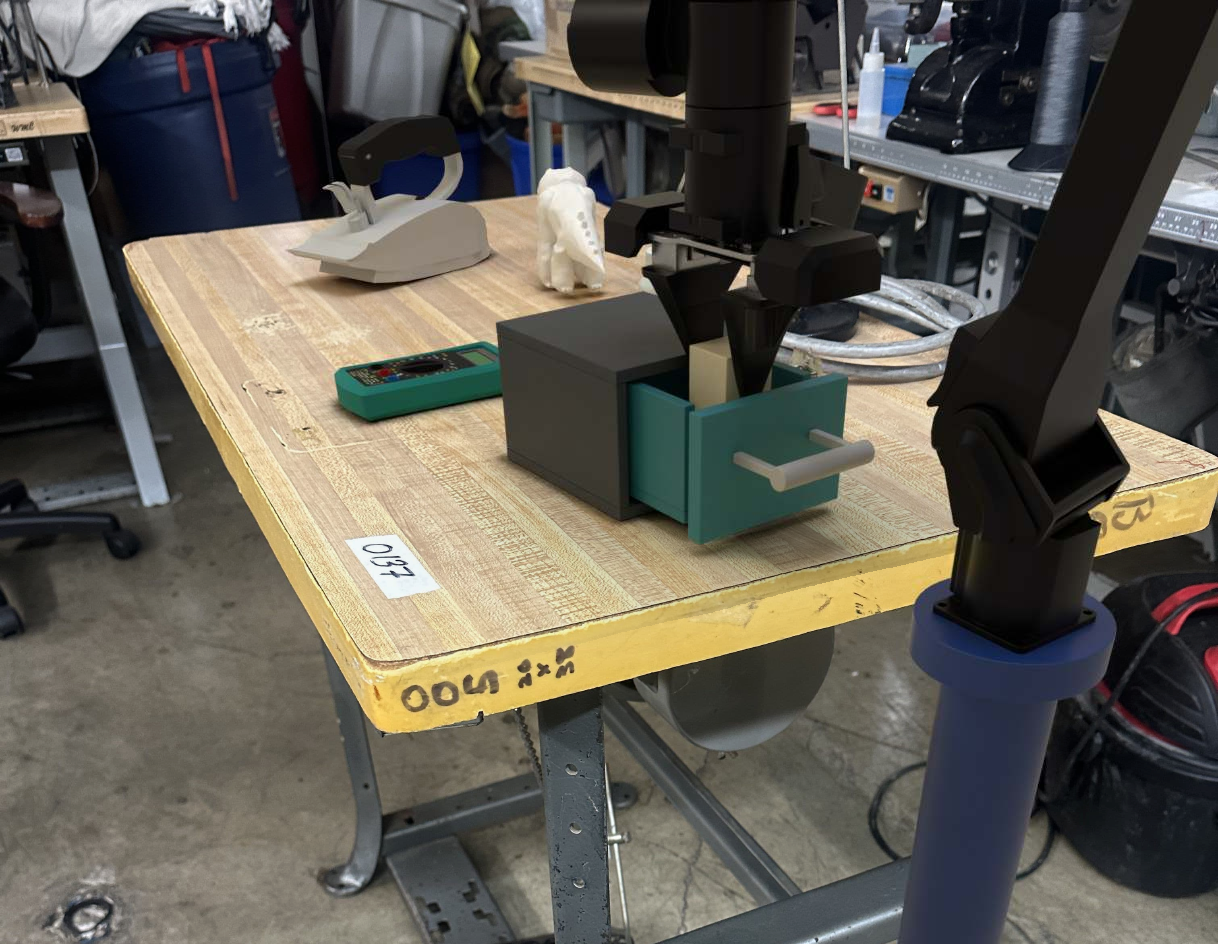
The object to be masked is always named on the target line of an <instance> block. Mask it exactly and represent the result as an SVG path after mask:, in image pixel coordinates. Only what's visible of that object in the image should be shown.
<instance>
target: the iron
mask: <svg viewBox="0 0 1218 944" xmlns="http://www.w3.org/2000/svg"><path fill="white" fill-rule="evenodd" d="M337 150H338V152H337V157H338V158H337V159H338V160H339V164H340V166H341V168H342V171H343V174H344V176H345V179H346V181H347V184H348V185H349V186H350V188H349V186H348V185H346V184H345V183H344V182H342V181H335V182H332V183H331V184H327V185H325V186H323V187H322V189H323V190H329V191H331V192H333V195H334V196H335V197H336V199H337V201H338V202H339V203H340V205H341V207H342V210H343V211H344V213H345V215H343V216H342V217H340V218H339V219H337V220H335V221H333V222H332V223H331V224H329V225H327V226H326V227H324V228H323V229H321V230H320V231H318V232H311V234H310V236H309V237H308V238H307V240H306V241H304V242H303V243H302V244H300V245H298V246H297V247H293V248H289V249H285V251H286V252H287V253H290V254H291V255H293V256H295V257H300V258H304V259H310V260H314V261H320V264H319V269H318V272H319V273H324V274H328V275H333V276H337V277H343V278H348V279H353V280H359V281H363V282H368V283H373V284H378V283H379V284H381V283H382V284H383V283H396V282H398V283H399V282H408V281H413V280H418V279H424V278H427V277H428V278H429V277H433V276H436V275H440V274H444V273H448V272H453V271H457V270H460V269H461V270H462V269H464V268H468V267H472V266H474V265H476V264H478V263H479V262H481V261H484V260H485V259H486V258H488V257H490V254H491V252H492V249H491V246H490V244H489V239H488V228H487V222H486V219H485V217H484V216H483V215H482V213H481V212H480V211H479V209H477V207H476V206H473V205H471V204H469V203H467V202H466V203H465V202H462V201H454V200H447V199H448V198H449V197H450V196H452V194H453V193H454V192H455V190H456V189H457V188H458V186H459V182H460V181H461V178H462V177H463V172H464V162H463V158H462V154H461V153H462V150H461V148H460V143H459V141H458V136H457V133H456V129H455V127H454V125H453V123H452V121H451V120H450V118H448V117H446V116H441V115H433V114H432V115H431V114H418V115H416V116H415V115H414V116H398V117H389V118H386V119H383V120H380V121H378V122H375V123H373V124H372V125H370V126H368V127H367V128H365V129H364V130H363V131H361V132H360V133H359V134H357V135H355V136H354V137H352V138H350V139H347V140H346V141H344V142H343V143H342V144H341V145H340V146H338V149H337ZM423 152H424V153H425V154H426V155H427V156H430V157H439V158H443V161H444V173H443V177H442V179H441V181H440V183H439V184H438V185H437V187H435V189H434V190H433V191H432V192H431V193H430V194H429V195H428V196H426V197H425V196H424V195H421V194H419V195H412V194H411V195H410V194H404V193H395V194H391V195H388V196H384V197H382V198H379V199H377V200H375V198H374V196H373V193H372V191H371V186H370V185H372V184H374V183H377V182H379V181H380V180H381V176H382V170H383V168H384V167H385V165H386V164H387V163H389V162H399V161H404V160H407V159H409V158H413V157H416V156H417V155H419V154H421V153H423Z"/></svg>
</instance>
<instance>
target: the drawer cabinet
mask: <svg viewBox="0 0 1218 944" xmlns="http://www.w3.org/2000/svg"><path fill="white" fill-rule="evenodd" d="M495 330H496V341H497V347H498V352H499V363H500V375H501V386H502V394H501V395H502V397H501V398H502V406H503V419H504V420H503V421H504V429H505V440H506V456H507V459H508V460H510V461H512V462H513V463H515V464H517V465H519V466H521V467H523V468H524V469H526V470H528V471H530V472H532V473H533V474H535V475H536V476H538V477H540V478H542V479H544V480H546V481H547V482H550V483H551V484H553V485H555V486H557V487H558V488H560V489H562V490H563V491H565V492H567V493H569V494H571V495H573V496H575V497H576V498H578V499H580V500H582V502H583V501H584V502H585V503H587V504H589V505H591V506H592V507H594V508H595V509H596V508H597V509H598V510H600V511H601V512H603V513H605V514H607V515H608V516H610V517H612V518H614V519H616V520H617V521H619V522H622V521H625V520H628V519H631V518H635V517H638V516H641V515H644V514H647V513H650V512H654V511H658V510H657V509H655V508H653V507H651V506H649V505H647V504H645V503H643V502H642V501H640V500H638V499H636V498H634V497H632V496H630V495H629V476H628V434H627V391H626V382H629V381H633V380H637V379H641V378H645V377H649V376H652V375H656V374H660V373H664V372H668V371H672V370H676V369H680V368H684V367H688V366H690V362H689V360H688V357H687V355H686V353H685V351H684V349H683V346H682V344H681V342H680V340H679V337H678V335H677V333H676V331H675V329H674V327H673V325H672V323H671V321H670V319H669V317H668V315H667V313H666V311H665V309H664V307H663V305H662V303H661V301H660V299H659V298H658V296H657V295H654V294H651V293H648V292H645V291H642V292H638V291H637V292H633V293H632V292H631V293H627V294H622V295H618V296H614V297H609V298H605V299H604V298H603V299H599V300H595V301H590V302H584V303H580V304H575V305H571V306H566V307H562V308H561V307H560V308H557V309H553V310H549V311H547V310H546V311H543V312H538V313H534V314H528V315H524V316H518V317H515V318H510V319H505V320H500V321H496V322H495ZM726 336H728V334H727V329H726V324H725V322H724V335H723V337H726Z"/></svg>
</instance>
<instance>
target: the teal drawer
mask: <svg viewBox="0 0 1218 944" xmlns="http://www.w3.org/2000/svg"><path fill="white" fill-rule="evenodd" d="M811 376H812V373H811V372H808V371H805V370H803V369H802V368H800V369H799V368H796V367H793V366H790V364H787V363H784V362H781V361H779V360H777V359H775V361H774V363H773V366H772V372H771V390H769V391H765V392H761V393H758V394H754V395H750V396H747V397H743V398H739V399H736V400H732V401H728V402H725V403H721V404H717V405H714V406H710V407H706V408H703V409H699V410H695V404H693V403H690V402H689V378H690V366H688V367H684V368H680V369H676V370H672V371H668V372H664V373H660V374H656V375H652V376H649V377H645V378H641V379H637V380H633V381H629V382H626V391H627V434H628V476H629V495H630V496H632V497H634V498H636V499H638V500H640V501H642V502H643V503H645V504H647V505H649V506H651V507H653V508H655V509H657V510H656V511H658V512H661V513H662V514H664V515H666V516H668V517H670V518H671V519H674V520H675V521H678V522H679V523H681V524H684V525H685V524H687V539H689V540H690V541H692V542H694V543H696V544H697V545H704V544H706V543H709V542H712V541H715V540H718V539H720V538H721V539H722V538H724V537H728V536H730V535H733V534H736V533H739V532H741V531H745V530H747V529H750V528H753V527H754V528H755V527H756V526H759V525H763V524H765V523H768V522H771V521H775V520H777V519H781V518H783V517H786V516H788V515H792V514H795V513H798V512H801V511H804V510H807V509H811V508H813V507H816V506H819V505H823V504H825V503H827V502H831V501H834V500H837V499H838V497H839V486H840V485H839V484H840V476H841V475H840V474H841V473H843V472H846V471H851V470H854V469H856V468H858V467H862V466H865V465H868V464H870V463H872V462H873V460H874V459H875V455H876V451H875V446H874V445H873V443H872V442H871V441H870V440H868V439H861V440H858V441H857V440H856V441H855V442H852V441H849V440H847V439H844V431H845V420H846V419H845V418H846V409H847V398H848V397H847V396H848V386H849V376H847V375H844V374H841V373H839V372H832V373H828V374H827V373H826V374H823V376H820V377H816V378H813V379H811Z"/></svg>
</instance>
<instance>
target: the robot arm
mask: <svg viewBox="0 0 1218 944" xmlns="http://www.w3.org/2000/svg"><path fill="white" fill-rule="evenodd" d="M798 1H800V0H574V3H573V6H572V9H571V12H570V13H571V14H570V20H569V22H568V23H567V24H566V25H567V26H566V43H567V50H568V56H569V60H570V63H571V66H572V69H573V70H574V72H575V74H576V76H577V78H578V80H580V82H582V84H583V85H584V86H585V87H587V88H588V89H589V90H591V91H593V92H598V93H605V94H606V93H607V94H619V95H631V96H632V95H633V96H634V95H635V96H647V97H648V96H649V97H657V98H658V97H661V98H675V97H679V96H681V95H682V94H684V103H685V104H684V123H681V124H674V125H668V147H669V148H672V149H679V150H684V192H680V191H675V190H669V191H664V192H658V193H652V194H651V193H650V194H645V195H640V196H633V197H627V198H622V199H616V200H614V201H613V204H612V205H611V207H610V208H609V210H608V211H607V213H606V215H605V216H604V218H603V240H604V242H603V246H604V252H605V253H609V254H612V255H615V256H619V257H621V258H626V259H633V258H636V257H637V256H638V255H639V253H640V251H641V250H642V248H643V247H644V246H647V245H651V247H652V265H648V266H646V265H644V266H642V267H641V274H642V278H643V277H645V278H647V279H649V281H650V282H651V284H652V286H653V288H654V290H655V292H656V294H657V296H658V298H659V299H660V301H661V303H662V305H663V307H664V309H665V311H666V313H667V315H668V317H669V319H670V321H671V323H672V325H673V327H674V329H675V331H676V333H677V335H678V337H679V340H680V342H681V344H682V346H683V349H684V351H685V353H686V355H687V357H688V360H689V362H690V345H693V344H697V343H702V342H706V341H710V340H714V339H718V338H722V337H723V335H724V322H725V324H726V329H727V334H728V340H729V346H730V351H731V357H732V362H733V368H734V374H735V379H736V384H737V388H738V392H739V396H740V398H743V397H747V396H750V395H754V394H758V393H761V392H763V389H764V386H765V384H766V381H767V379H768V376H769V374H770V371H771V369H772V366H773V363H774V361H775V360H776V359H777V356H778V353H779V351H780V348H781V345H782V343H783V341H784V339H785V336H786V334H787V332H788V330H789V328H790V326H791V324H792V322H793V320H794V318H795V316H796V315H797V314H798V312H799V311H800V310H801V309H803V308H812V307H816V306H821V305H825V304H829V303H832V302H837V301H842V300H846V299H850V298H855V297H858V296H863V295H867V294H872V293H876V292H880V291H881V285H882V277H883V266H884V253H885V250H884V248H883V246H882V244H880V242H879V240H878V239H877V237H876V236H875V234H874V233H870V232H865V231H860V230H855V229H854V227H855V224H856V221H857V217H858V214H859V211H860V208H861V206H862V201H863V199H864V195H865V192H866V190H867V186H868V183H869V180H870V179H869V177H868V176H867V175H864V174H862V173H859V172H858V171H855V170H852V169H850V168H848V167H845V166H843V165H840V164H837V163H835V162H833V161H830V160H828V159H824V158H821V157H818V156H815V155H813V154H811V153H810V141H811V140H810V139H811V137H810V136H811V135H810V131H809V129H808V128H807V123H808V122H805V121H797V120H791V119H792V100H793V99H792V97H793V80H794V78H793V77H794V59H795V41H796V25H797V24H796V23H797V22H796V21H797V2H798ZM1107 55H1108V56H1107V58H1106V60H1105V63H1104V66H1103V68H1102V71H1101V72H1100V73H1101V74H1100V76H1099V79H1098V81H1097V83H1096V86H1095V89H1094V92H1093V94H1092V96H1091V99H1090V102H1089V104H1088V107H1087V110H1086V112H1085V115H1084V117H1083V120H1082V122H1081V125H1080V127H1079V130H1078V133H1077V135H1076V137H1075V140H1074V143H1073V146H1072V148H1071V150H1070V153H1069V155H1068V158H1067V162H1066V163H1065V166H1064V169H1063V171H1062V174H1061V175H1060V178H1059V182H1058V184H1057V187H1056V189H1055V191H1054V195H1053V197H1052V199H1051V202H1050V203H1049V207H1048V209H1047V212H1046V215H1045V217H1044V219H1043V222H1042V225H1041V227H1040V230H1039V233H1038V236H1037V238H1036V241H1035V243H1034V245H1033V247H1032V251H1031V253H1030V256H1029V258H1028V261H1027V264H1026V266H1025V269H1024V272H1023V273H1022V276H1021V278H1020V281H1019V284H1018V287H1017V289H1016V292H1015V293H1014V294H1013V296H1012V298H1011V300H1010V302H1009V303H1008V304H1007V306H1006V307H1004V308H1001V309H998V310H996V311H994V312H991V313H989V314H987V315H984V316H982V317H980V318H977V319H974V320H972V321H971V322H968V323H965V324H962V325H960V326H958V327H957V328H956V330H955V333H954V335H953V337H952V339H951V342H950V344H949V347H948V348H949V349H948V353H947V358H946V362H945V367H944V371H943V374H942V378H941V379H940V382H939V384H938V386H937V388H936V390H935V391H934V392H933V393H932V394H931V395H930V397H929V398H927V400H926V403H925V404H926V406H927V408H936V407H937V409H936V411H935V413H934V415H933V418H932V423H931V428H930V445H931V448H932V449H933V451H935V452H936V455H937V458H938V460H939V463H940V466H941V467H942V469H943V472H944V478H945V484H946V491H947V496H948V502H949V508H950V512H951V518H952V524H953V526H954V527H955V528H957V529H958V530H957V531H958V532H957V537H956V543H955V549H954V555H953V561H952V567H951V573H950V578H951V579H950V586H949V588H950V591H951V592H952V593H953V595H951V596H949V597H946V598H944V599H941V600H939V601H936V602H935V603H934V604H933V613H935V614H936V615H939V616H941V617H943V618H945V619H947V620H949V621H951V622H953V623H955V624H957V625H959V626H961V627H963V628H965V629H967V630H969V631H971V632H973V633H975V634H977V635H979V636H981V637H983V638H985V639H987V640H989V641H991V642H993V643H995V644H997V645H999V646H1001V647H1003V648H1005V649H1007V650H1009V651H1011V652H1013V653H1016V654H1026V653H1029V652H1031V651H1033V650H1035V649H1038V648H1040V647H1042V646H1044V645H1046V644H1048V643H1051V642H1053V641H1055V640H1057V639H1059V638H1062V637H1064V636H1066V635H1068V634H1070V633H1072V632H1075V631H1077V630H1079V629H1081V628H1083V627H1086V626H1088V625H1090V624H1092V623H1094V622H1095V621H1096V617H1097V613H1096V611H1094V610H1092V609H1089V608H1087V607H1085V606H1083V601H1084V597H1085V593H1087V588H1088V583H1089V581H1090V575H1091V571H1092V567H1093V563H1094V558H1095V555H1096V550H1097V547H1098V541H1099V537H1100V533H1101V530H1102V526H1103V524H1102V522H1100V521H1098V520H1095V519H1093V518H1092V517H1091V514H1090V511H1092V510H1093V509H1095V508H1096V507H1098V506H1100V505H1101V504H1102V503H1107V502H1109V501H1111V500H1112V499H1113V498H1114V496H1115V495H1116V493H1117V492H1118V490H1119V489H1120V487H1121V486H1122V485H1123V484H1124V481H1125V480H1126V478H1127V477H1128V475H1129V474H1130V472H1131V465H1130V463H1129V461H1128V460H1127V458H1126V456H1125V455H1124V453H1123V451H1122V450H1121V448H1120V446H1119V445H1118V443H1117V441H1116V440H1115V439H1114V436H1113V435H1112V433H1111V432H1110V430H1109V429H1108V427H1107V426H1106V424H1105V422H1104V421H1103V419H1102V417H1101V415H1100V414H1099V408H1100V406H1101V402H1102V399H1103V394H1104V391H1105V388H1106V385H1107V382H1108V381H1107V380H1108V377H1109V374H1110V371H1111V365H1112V336H1113V333H1112V332H1113V317H1114V313H1115V309H1116V306H1117V303H1118V301H1119V299H1120V297H1121V295H1122V292H1123V290H1124V288H1125V287H1126V283H1127V281H1128V279H1129V277H1130V274H1131V272H1132V270H1133V268H1134V266H1135V264H1136V262H1137V259H1138V258H1139V255H1140V253H1141V250H1142V249H1143V246H1144V244H1145V241H1146V240H1147V237H1148V235H1149V233H1150V232H1151V228H1152V226H1153V224H1154V222H1155V220H1156V217H1157V215H1158V213H1159V211H1160V208H1161V206H1162V204H1163V202H1164V200H1165V198H1166V196H1167V194H1168V191H1169V189H1170V187H1171V185H1172V182H1173V180H1174V179H1175V176H1176V173H1177V171H1178V169H1179V167H1180V165H1181V163H1182V161H1183V158H1184V156H1185V154H1186V152H1187V150H1188V147H1189V145H1190V143H1191V140H1192V138H1193V136H1194V134H1195V132H1196V129H1197V127H1198V125H1199V123H1200V120H1201V119H1202V116H1203V114H1204V112H1205V111H1206V108H1207V105H1208V103H1209V101H1210V99H1211V97H1212V94H1213V92H1214V91H1215V88H1216V86H1217V84H1218V0H1129V2H1128V5H1127V6H1126V9H1125V12H1124V14H1123V17H1122V19H1121V22H1120V25H1119V28H1118V29H1117V32H1116V35H1115V38H1114V40H1113V43H1112V45H1111V48H1110V50H1109V52H1108V54H1107ZM789 229H790V230H795V231H791V232H787V233H786V232H785V233H783V230H789ZM801 229H802V230H801ZM746 245H747V246H748V247H745V246H746ZM749 247H750V248H749ZM743 266H745V267H749V268H750V269H749V274H747V275H746V286H743V287H739V288H734V289H730V288H731V286H732V285H733V283H734V281H735V279H736V277H737V276H738V274H739V272H740V270H741V269H742V268H743Z"/></svg>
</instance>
